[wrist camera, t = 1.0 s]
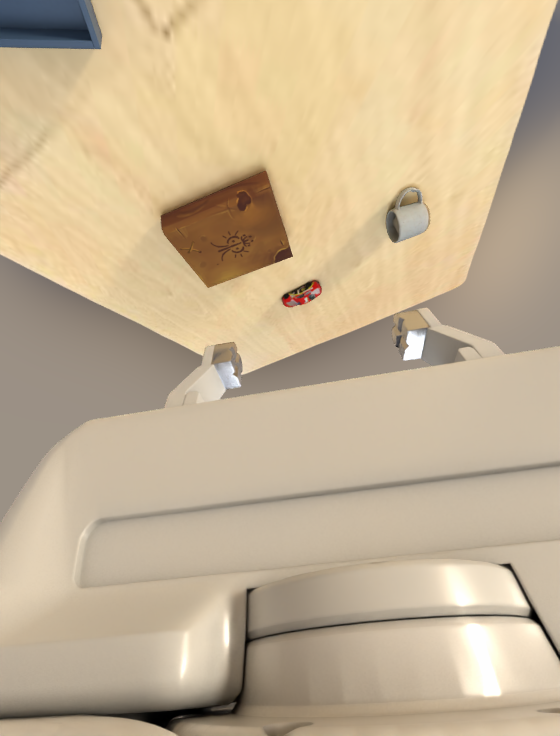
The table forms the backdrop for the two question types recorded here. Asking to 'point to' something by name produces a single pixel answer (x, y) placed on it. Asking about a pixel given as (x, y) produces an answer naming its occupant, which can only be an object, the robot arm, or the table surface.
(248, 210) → the diary
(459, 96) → the table surface
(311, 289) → the race car
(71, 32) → the tray
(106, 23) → the table surface
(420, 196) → the ceramic mug
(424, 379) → the robot arm
